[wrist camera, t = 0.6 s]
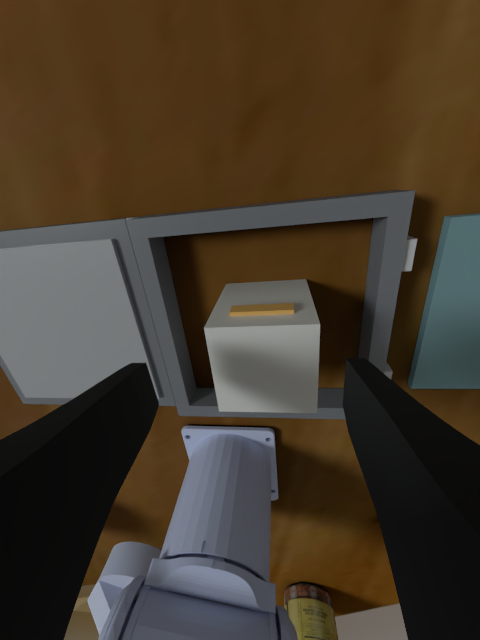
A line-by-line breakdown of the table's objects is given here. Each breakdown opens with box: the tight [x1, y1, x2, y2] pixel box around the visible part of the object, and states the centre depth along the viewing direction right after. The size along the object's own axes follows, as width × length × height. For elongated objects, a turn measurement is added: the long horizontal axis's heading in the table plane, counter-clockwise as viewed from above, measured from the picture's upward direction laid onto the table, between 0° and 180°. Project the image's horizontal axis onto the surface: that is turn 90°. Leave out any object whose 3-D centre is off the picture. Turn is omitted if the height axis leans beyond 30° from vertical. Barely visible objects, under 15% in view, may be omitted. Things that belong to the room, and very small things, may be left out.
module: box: [204, 279, 320, 413], centre depth 15 cm, size 5×5×6 cm
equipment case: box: [0, 190, 417, 419], centre depth 18 cm, size 14×29×2 cm, turn 96°
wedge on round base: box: [87, 542, 162, 635], centre depth 35 cm, size 9×7×13 cm
